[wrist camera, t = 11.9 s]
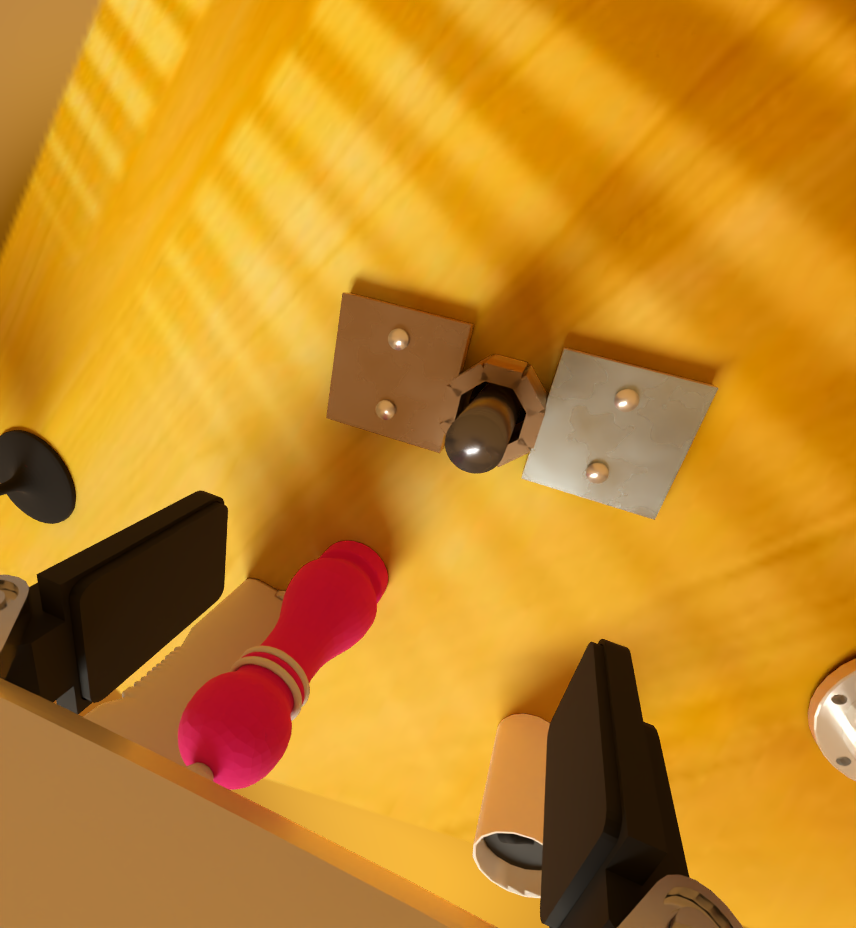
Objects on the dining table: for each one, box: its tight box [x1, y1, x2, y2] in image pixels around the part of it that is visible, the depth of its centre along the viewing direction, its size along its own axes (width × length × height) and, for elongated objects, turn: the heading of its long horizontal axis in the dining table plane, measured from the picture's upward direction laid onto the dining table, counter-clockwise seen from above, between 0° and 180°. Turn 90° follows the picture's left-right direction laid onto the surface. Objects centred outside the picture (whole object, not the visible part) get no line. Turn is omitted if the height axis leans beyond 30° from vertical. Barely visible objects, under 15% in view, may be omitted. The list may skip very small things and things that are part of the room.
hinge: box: [326, 293, 718, 520], centre depth 29 cm, size 24×9×5 cm, turn 78°
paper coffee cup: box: [473, 714, 550, 898], centre depth 36 cm, size 7×7×10 cm
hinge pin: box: [445, 383, 522, 473], centre depth 26 cm, size 3×3×10 cm
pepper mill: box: [178, 541, 388, 790], centre depth 30 cm, size 7×7×20 cm
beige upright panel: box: [84, 578, 286, 768], centre depth 33 cm, size 11×4×22 cm, turn 60°
